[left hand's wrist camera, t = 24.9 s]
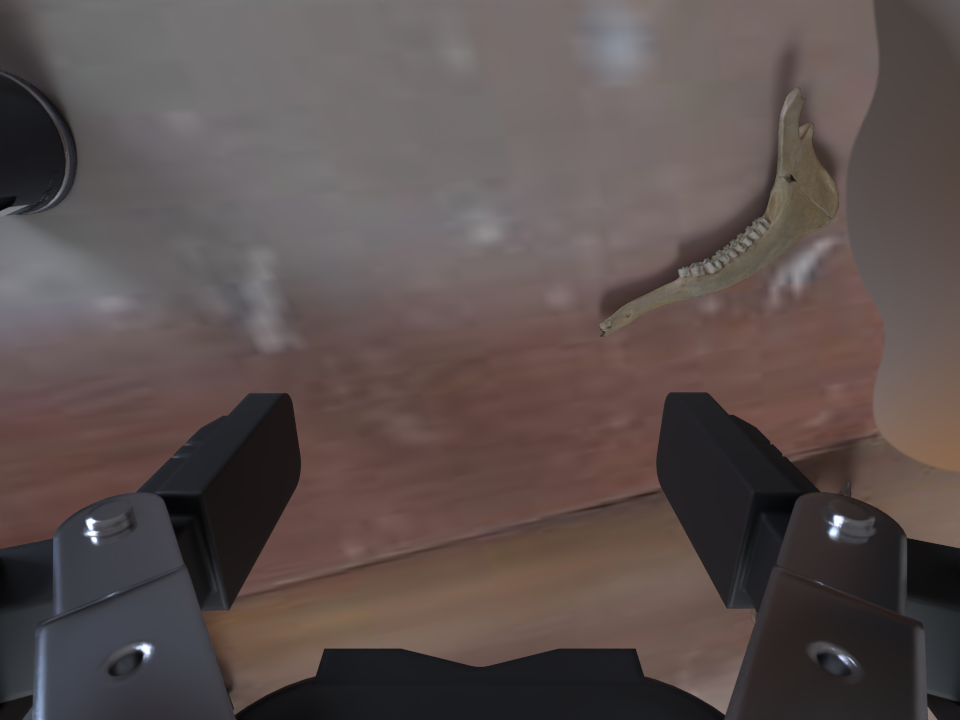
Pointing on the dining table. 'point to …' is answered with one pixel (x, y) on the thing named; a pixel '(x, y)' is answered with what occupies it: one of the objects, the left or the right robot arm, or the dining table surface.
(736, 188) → the dining table surface
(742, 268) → the jawbone
